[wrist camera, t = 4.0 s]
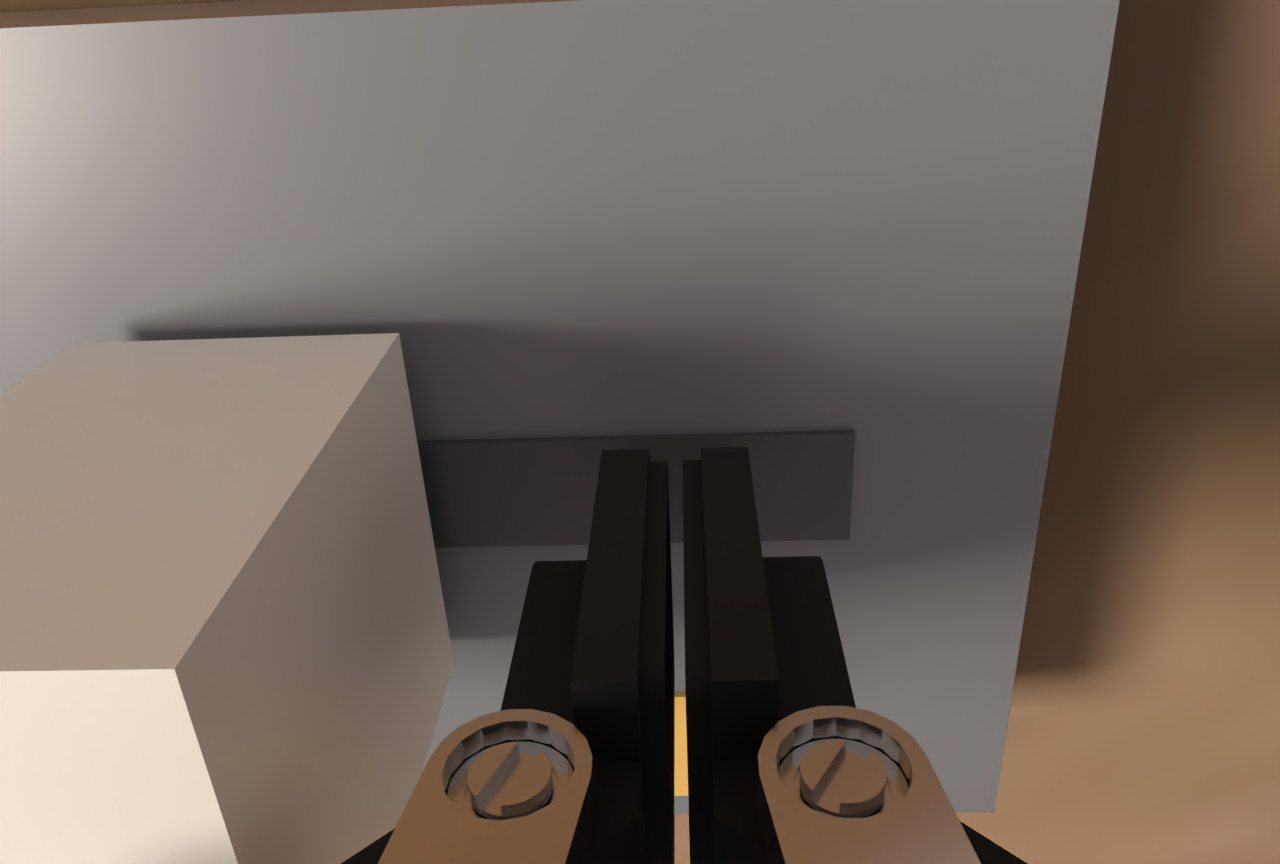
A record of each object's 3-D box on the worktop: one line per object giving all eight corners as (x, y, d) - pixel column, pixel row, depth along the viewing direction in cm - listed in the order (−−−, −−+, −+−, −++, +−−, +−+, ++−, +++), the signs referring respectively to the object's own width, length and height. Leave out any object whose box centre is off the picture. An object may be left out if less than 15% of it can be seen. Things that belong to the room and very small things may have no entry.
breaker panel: (1033, -39, 13) (1127, -27, 10) (948, 682, 19) (995, 816, 16) (-424, 32, 14) (-691, 61, 11) (-100, 695, 20) (-227, 823, 17)
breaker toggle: (399, 333, 12) (174, 668, 7) (453, 664, 14) (318, 1112, 9) (72, 343, 12) (-399, 676, 7) (177, 668, 14) (-116, 1109, 9)
